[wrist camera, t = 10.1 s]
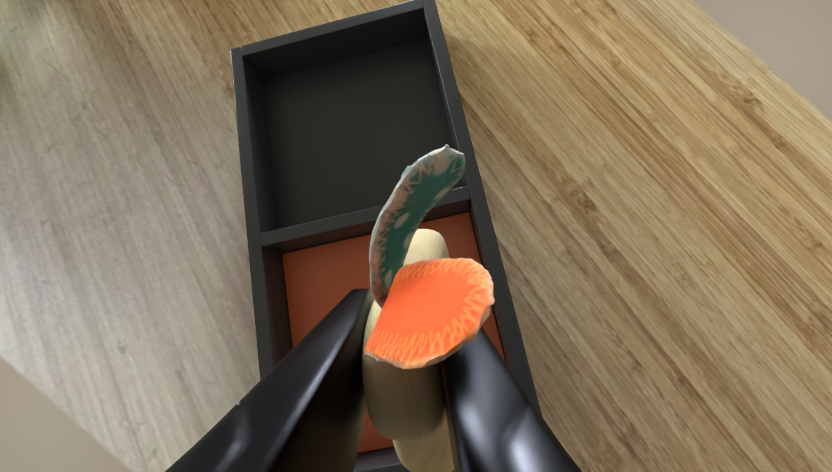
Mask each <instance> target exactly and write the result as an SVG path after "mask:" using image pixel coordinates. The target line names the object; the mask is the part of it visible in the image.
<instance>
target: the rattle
mask: <svg viewBox="0 0 832 472" xmlns="http://www.w3.org/2000/svg"><path fill="white" fill-rule="evenodd" d="M464 170H465V157H464V154H463V153H461V152H458V151H456V150H454V149H451V148H449V145H447V144H446V145H445V147H443V148H440V149H436V150H434V151H432V152H430V153H428V154H426V155H424V156H423V157H421V158H419V159H418V160H417V161H416V162H415V163H414V164H413V165H411V166H407V168H406V169H405V171H404V172H403V174H402V176H401V179H400V181H399V182H398V184H397V186H396V187H395V189H394V191H393V193H392V195H391V196H390V198H389V200H388V201H387V203H386V205H385V206H383V209H382V210H381V212H380V214H379V216H378V219H377V221H376V224H375V226H374V229H373V231H372V237H371V241H370V252H369V264H370V285H371V289H372V293H373V297H374V299H375V300H374V302H373V304H372V307H371V309H370V312H369V315H368V319H367V323H366V327H365V334H364V341H363V351H362V377H363V387H364V395H365V400H366V405H367V410H368V413H369V416H370V419H371V421H372V424H373V426H374V428H375V429H376V430H377V431H378V432H379V433H380V434H381V435H382V436H384V437H386V438H389V439H392V440H393V444H394V447H395V450H396V453H397V455H398V457H399V460H400V461H401V463H402V464H403V465H404V466H405V467H406V468H407V469H408V470H409V471H410V472H452V471H453V470H454V465H453V458H452V451H451V445H450V438H449V431H448V425H447V418H446V411H445V404H444V396H443V388H442V380H441V372H440V363H439V362H440V361H443V360H445V359H447V357H448V356H450V355H452V354H453V353H455V352H457V351H459V350H460V349H461V348H462V346H463V345H465V344H466V343H467V342H469V341H472V340H476V339H477V334H478V332H479V330H480V328H481V326H482V325H483V323H484V321H485V320H486V319H487V318H488V316H489V315H490V310H491V306H492V305H493V304H494V302H495V299H494V286H493V282H492V278H491V276H490V274H489V272H488V270H486V269H485V268H484V267H483V266H482V265H481V264H479V263H477V262H476V261H474V260H472V259H465V258H457V259H450V258H449V254H448V249H447V246H446V243H445V240H444V238H443V237H442V236H441V234H439V233H438V232H436V231H434V230H430V229H418V227H419V225H420V223H421V221H422V220H423V218H424V217H425V215H426V214H427V213H428V212H429V211H430V210H431V209H432V208H433V207H434V205H435V204H436V203H437V202H438V201H439V200H440V199H441V198H442V197H443V196H444V195H445V194H446V193H447V192H448V191H449V190H450V189H451V188H452V187H453V186H454V185H455V184H456V183H457V182H458V181H459V180H460V179H461V178H462V175H463V173H464Z"/></svg>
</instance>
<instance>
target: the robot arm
mask: <svg viewBox="0 0 832 472" xmlns="http://www.w3.org/2000/svg"><path fill="white" fill-rule="evenodd" d="M373 302H374V300H373V296H372V292H371V290H370V289H368V288H363V289H353V290H351V291H350V292H349V293H348V294H347V295H346V296H345V297H344V298H343V299H342V300H341V301H340V302H339V303H338V304H337V305H336V306H335V307H334V308H333V309H332V310H331V311H330V312H329V313H328V314H327V315H326V316H325V317H324V318H323V319H322V320H321V321H320V322H319V323H318V324H317V325H316V326H315V327H314V328H313V329H312V330H311V331H310V332H309V333H308V334H307V335H306V336H305V337H304V338H303V339H302V340H301V341H300V342H299V343H298V344H297V345H296V346H295V347H294V348H293V349H292V350H291V351H290V352H289V353H288V354H287V355H286V356H285V357H284V358H283V359H282V360H281V361H280V362H279V363H278V364H277V365H276V366H275V367H274V368H273V369H272V370H271V371H270V372H269V373H268V374H267V375H266V376H265V377H264V378H263V379H262V380H261V381H260V382H259V383H258V384H257V385H256V386H255V387H254V388H253V389H252V390H251V391H250V392H249V393H248V394H247V395H246V396H245V397H244V398H243V399H242V400H241V401H240V402H239V405H235V406H234V407H233V408H232V409H231V410H230V411H229V412H228V413H227V414H226V415H225V416H224V417H223V418H222V419H221V420H220V421H219V422H218V423H217V424H216V425H215V426H214V427H213V428H212V429H211V430H210V431H209V432H208V433H207V434H206V435H205V436H204V437H202V438H201V439H200V440H199V441H198V442H197V443H196V444H195V445H194V446H193V447H192V448H191V449H190V450H189V451H187V452H186V453H185V454H184V455H183V456H182V457H181V458H180V459H179V460H177V461H176V462H175V463H174V464H173V465H172V466H171V467H170V468H168V469H167V470H166V471H165V472H353V471H354V466H355V461H356V456H357V452H358V447H359V442H360V437H361V433H362V428H363V423H364V418H365V414H366V409H367V405H366V400H365V395H364V387H363V377H362V351H363V341H364V334H365V327H366V323H367V319H368V315H369V312H370V309H371V307H372V304H373ZM439 363H440V372H441V380H442V388H443V396H444V404H445V411H446V418H447V425H448V431H449V438H450V445H451V451H452V458H453V465H454V471H455V472H582V471H581V470H580V468H579V467H578V466H577V465H576V463H575V462H574V461H573V460H572V458H571V457H570V456H569V454H568V453H567V452H566V451H565V449H564V448H563V447H562V445H561V444H560V442H559V441H558V439H557V438H556V437H555V435H554V434H553V432H552V431H551V429H550V428H549V427H548V425H547V424H546V422H545V421H544V419H543V418H542V416H541V415H540V413H539V412H538V410H537V409H536V407H535V406H534V404H533V403H532V402H529V400H530V399H529V397H528V395H527V394H526V392H525V391H524V389H523V388H522V386H521V385H520V383H519V382H518V380H517V379H516V377H515V376H514V374H513V373H512V371H511V370H510V368H509V367H508V365H507V363H506V362H505V360H504V359H503V357H502V356H501V354H500V353H499V351H498V350H497V348H496V347H495V345H494V344H493V342H492V341H491V339H490V338H489V336H488V335H487V333H486V331H485V330H484V328H483V327H482V326H481V328H480V330H479V332H478V334H477V339H476V340H472V341H469V342H467V343H466V344H465V345H463V346H462V348H461V349H460V350H459V351H457V352H455V353H453V354H452V355H450V356H448V357H447V359H445V360H443V361H440V362H439Z"/></svg>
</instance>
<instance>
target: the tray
mask: <svg viewBox="0 0 832 472" xmlns="http://www.w3.org/2000/svg"><path fill="white" fill-rule="evenodd" d="M230 53H231V64H232V75H233V86H234V96H235V107H236V118H237V129H238V140H239V151H240V162H241V173H242V184H243V194H244V205H245V216H246V227H247V238H248V249H249V260H250V271H251V282H252V293H253V303H254V314H255V325H256V336H257V347H258V358H259V369H260V380H262V379H263V378H264V377H265V376H266V375H267V374H268V373H269V372H270V371H271V370H272V369H273V368H274V367H275V366H276V365H277V364H278V363H279V362H280V361H281V360H282V359H283V358H284V357H285V356H286V355H287V354H288V353H289V352H290V351H291V350H292V349H293V348H294V347H295V346H296V345H297V344H298V343H299V342H300V341H301V340H302V339H303V338H304V337H305V336H306V335H307V334H308V333H309V332H310V331H311V330H312V329H313V328H314V327H315V326H316V325H317V324H318V323H319V322H320V321H321V320H322V319H323V318H324V317H325V316H326V315H327V314H328V313H329V312H330V311H331V310H332V309H333V308H334V307H335V306H336V305H337V304H338V303H339V302H340V301H341V300H342V299H343V298H344V297H345V296H346V295H347V294H348V293H349V292H350V291H351V290H353V289H363V288H368V289H370V290H371V292H372V289H371V285H370V264H369V252H370V241H371V237H372V231H373V229H374V226H375V224H376V221H377V219H378V216H379V214H380V212H381V210H382V209H383V206H385V205H386V203H387V201H388V200H389V198H390V196H391V195H392V193H393V191H394V189H395V187H396V186H397V184H398V182H399V181H400V179H401V176H402V174H403V172H404V171H405V169H406V168H407V166H411V165H413V164H414V163H415V162H416V161H417V160H418V159H419V158H421V157H423V156H424V155H426V154H428V153H430V152H432V151H434V150H436V149H440V148H443V147H445V145H446V144H447V145H449V148H451V149H454V150H456V151H458V152H461V153H463V154H464V157H465V170H464V173H463V175H462V178H461V179H460V180H459V181H458V182H457V183H456V184H455V185H454V186H453V187H452V188H451V189H450V190H449V191H448V192H447V193H446V194H445V195H444V196H443V197H442V198H441V199H440V200H439V201H438V202H437V203H436V204H435V205H434V207H433V208H432V209H431V210H430V211H429V212H428V213H427V214H426V215H425V217H424V218H423V220H422V221H421V223H420V225H419V227H418V229H430V230H434V231H436V232H438V233H439V234H441V236H442V237H443V238H444V240H445V243H446V246H447V249H448V254H449V258H450V259H457V258H465V259H472V260H474V261H476V262H477V263H479V264H481V265H482V266H483V267H484V268H485V269H486V270H488V272H489V274H490V276H491V278H492V282H493V286H494V299H495V302H494V304H493V305H492V306H491V310H490V315H489V316H488V318H487V319H486V320H485V321H484V323H483V325H482V327H483V328H484V330H485V331H486V333H487V335H488V336H489V338H490V339H491V341H492V342H493V344H494V345H495V347H496V348H497V350H498V351H499V353H500V354H501V356H502V357H503V359H504V360H505V362H506V363H507V365H508V367H509V368H510V370H511V371H512V373H513V374H514V376H515V377H516V379H517V380H518V382H519V383H520V385H521V386H522V388H523V389H524V391H525V392H526V394H527V395H528V397H529V399H530V400H529V402H532V403H533V404H534V406H535V407H536V409H537V410H538V412H539V413H540V415H541V416H542V414H541V410H540V406H539V402H538V399H537V395H536V391H535V387H534V383H533V379H532V375H531V371H530V368H529V364H528V360H527V356H526V352H525V348H524V344H523V340H522V337H521V333H520V329H519V325H518V321H517V317H516V313H515V309H514V305H513V302H512V298H511V294H510V290H509V286H508V282H507V278H506V274H505V271H504V267H503V263H502V259H501V255H500V251H499V247H498V243H497V240H496V236H495V232H494V228H493V224H492V220H491V216H490V212H489V209H488V205H487V201H486V197H485V193H484V189H483V185H482V181H481V178H480V174H479V170H478V166H477V162H476V158H475V154H474V150H473V147H472V143H471V139H470V135H469V131H468V127H467V123H466V119H465V116H464V112H463V108H462V104H461V100H460V96H459V92H458V88H457V85H456V81H455V77H454V73H453V69H452V65H451V61H450V57H449V54H448V50H447V46H446V42H445V38H444V34H443V30H442V26H441V23H440V19H439V15H438V11H437V7H436V3H435V0H411V1H407V2H404V3H400V4H396V5H392V6H389V7H385V8H381V9H378V10H374V11H370V12H366V13H363V14H359V15H355V16H352V17H348V18H344V19H340V20H337V21H333V22H329V23H326V24H322V25H318V26H314V27H311V28H307V29H303V30H300V31H296V32H292V33H288V34H285V35H281V36H277V37H274V38H270V39H266V40H262V41H259V42H255V43H251V44H248V45H244V46H242V47H237V48H233V49H231V50H230ZM372 296H373V293H372ZM373 300H375V299H374V297H373ZM353 472H410V471H409V470H408V469H407V468H406V467H405V466H404V465H403V464H402V463H401V461H400V460H399V457H398V455H397V453H396V450H395V447H394V444H393V440H392V439H389V438H386V437H384V436H382V435H381V434H380V433H379V432H378V431H377V430H376V429H375V428H374V426H373V424H372V421H371V419H370V416H369V413H368V410H367V409H366V414H365V418H364V423H363V428H362V433H361V437H360V442H359V447H358V452H357V456H356V461H355V466H354V471H353ZM452 472H455V471H454V470H453V471H452Z"/></svg>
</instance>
